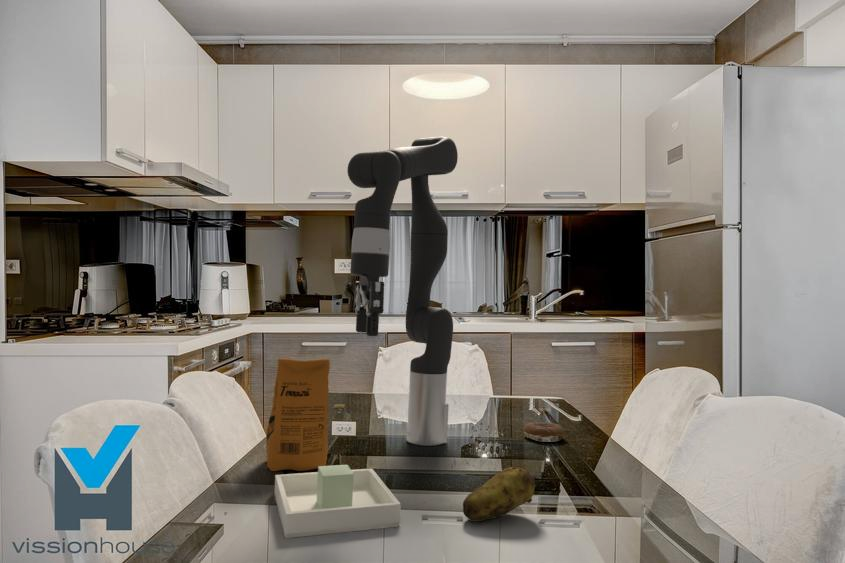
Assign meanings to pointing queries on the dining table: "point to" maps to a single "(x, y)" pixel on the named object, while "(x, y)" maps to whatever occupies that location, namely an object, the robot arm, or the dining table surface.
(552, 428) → the donut
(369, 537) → the dining table surface
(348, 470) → the green cube
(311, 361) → the coffee package
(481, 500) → the potato
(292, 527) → the bin
